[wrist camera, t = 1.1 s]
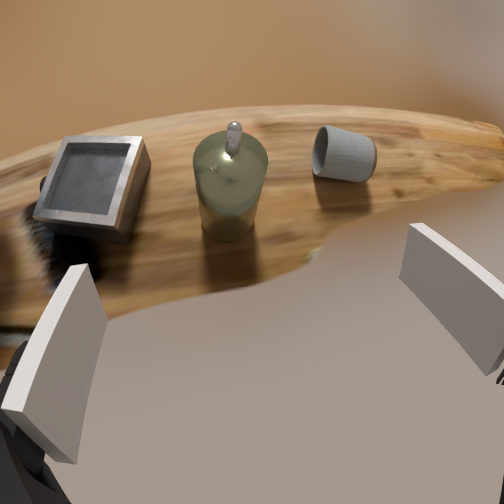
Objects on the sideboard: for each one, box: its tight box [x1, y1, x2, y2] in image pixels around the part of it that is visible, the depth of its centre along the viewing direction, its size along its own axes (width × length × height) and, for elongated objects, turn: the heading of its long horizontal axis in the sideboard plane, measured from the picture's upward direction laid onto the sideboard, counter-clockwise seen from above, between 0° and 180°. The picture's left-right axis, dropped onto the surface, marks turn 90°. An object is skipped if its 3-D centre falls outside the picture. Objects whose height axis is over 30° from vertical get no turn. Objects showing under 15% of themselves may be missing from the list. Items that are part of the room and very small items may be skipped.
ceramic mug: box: [312, 125, 377, 182], centre depth 42 cm, size 11×8×8 cm
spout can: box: [193, 121, 268, 243], centre depth 33 cm, size 7×7×16 cm
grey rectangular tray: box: [33, 136, 151, 244], centre depth 37 cm, size 16×13×6 cm
